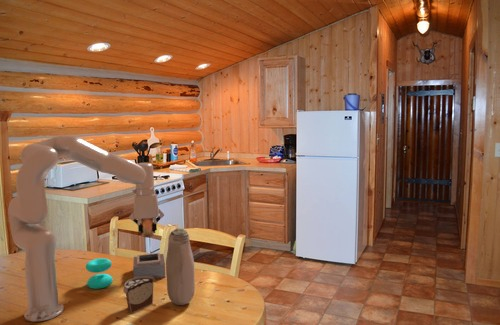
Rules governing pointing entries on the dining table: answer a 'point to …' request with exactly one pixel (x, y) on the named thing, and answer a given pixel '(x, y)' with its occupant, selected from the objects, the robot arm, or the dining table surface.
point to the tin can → (147, 227)
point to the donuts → (99, 279)
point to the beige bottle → (180, 268)
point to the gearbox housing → (149, 265)
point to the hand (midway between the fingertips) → (147, 232)
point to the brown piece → (139, 292)
